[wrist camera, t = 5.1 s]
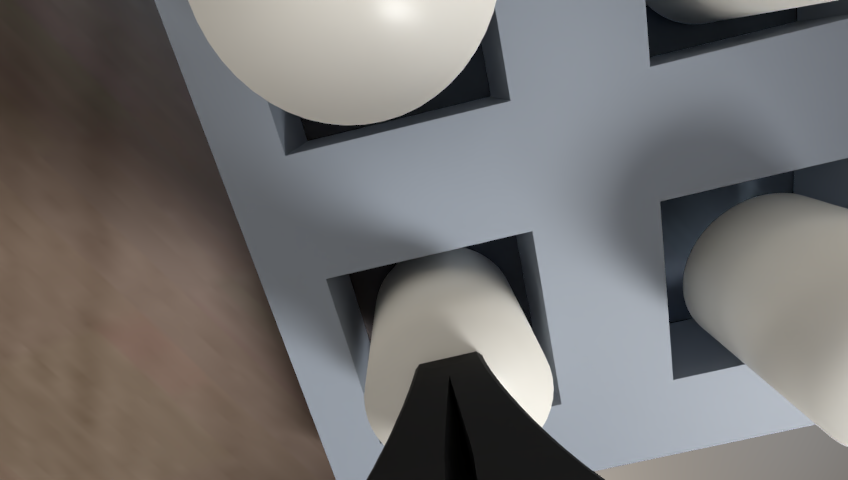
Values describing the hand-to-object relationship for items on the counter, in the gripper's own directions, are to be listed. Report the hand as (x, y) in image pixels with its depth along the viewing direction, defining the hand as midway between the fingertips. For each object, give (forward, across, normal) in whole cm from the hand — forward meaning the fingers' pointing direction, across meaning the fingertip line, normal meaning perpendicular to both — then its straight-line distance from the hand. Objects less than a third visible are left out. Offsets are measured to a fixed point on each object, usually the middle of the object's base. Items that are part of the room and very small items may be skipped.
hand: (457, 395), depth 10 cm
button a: (+2, -8, 0) cm, 8 cm away
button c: (+4, 0, 0) cm, 4 cm away
